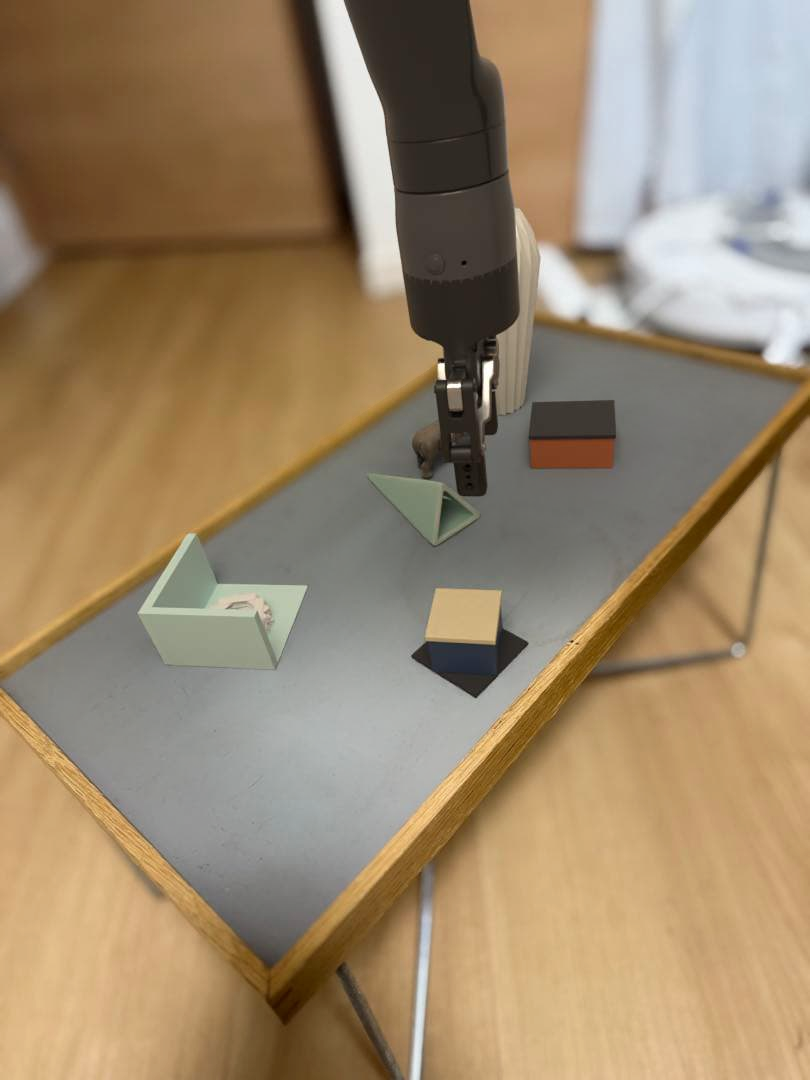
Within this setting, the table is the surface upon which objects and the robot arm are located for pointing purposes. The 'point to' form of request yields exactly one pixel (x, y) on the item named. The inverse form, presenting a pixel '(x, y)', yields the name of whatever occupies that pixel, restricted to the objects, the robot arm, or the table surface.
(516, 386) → the vase
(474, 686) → the mat
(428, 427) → the rhino figurine
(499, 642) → the top container
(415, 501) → the planter
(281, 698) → the table surface
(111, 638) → the table surface
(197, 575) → the right angle wall
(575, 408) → the bottom container
